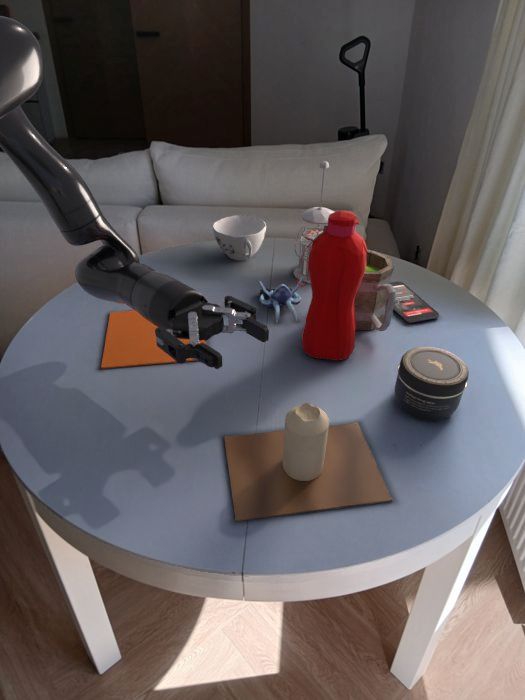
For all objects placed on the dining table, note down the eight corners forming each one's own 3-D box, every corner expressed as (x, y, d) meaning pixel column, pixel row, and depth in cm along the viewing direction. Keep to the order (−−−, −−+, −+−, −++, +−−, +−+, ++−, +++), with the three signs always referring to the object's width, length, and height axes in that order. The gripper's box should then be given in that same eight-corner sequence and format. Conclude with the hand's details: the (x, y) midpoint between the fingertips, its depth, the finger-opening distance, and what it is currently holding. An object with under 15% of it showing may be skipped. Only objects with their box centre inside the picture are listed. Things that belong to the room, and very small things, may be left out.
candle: (283, 482, 64) (287, 427, 58) (281, 450, 69) (284, 396, 63) (325, 481, 64) (333, 426, 58) (320, 449, 69) (327, 396, 63)
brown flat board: (235, 521, 60) (235, 520, 59) (224, 438, 71) (224, 436, 70) (392, 501, 62) (392, 499, 62) (357, 424, 73) (357, 422, 73)
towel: (101, 368, 83) (100, 367, 83) (110, 313, 98) (110, 312, 97) (207, 359, 86) (207, 358, 86) (201, 307, 100) (201, 305, 100)
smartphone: (408, 320, 96) (371, 285, 107) (408, 323, 96) (371, 288, 107) (440, 315, 97) (400, 280, 109) (440, 318, 98) (400, 283, 109)
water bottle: (296, 329, 94) (304, 200, 79) (354, 336, 92) (373, 206, 78) (289, 358, 86) (297, 221, 72) (352, 365, 85) (373, 227, 70)
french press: (344, 273, 113) (359, 161, 98) (312, 290, 106) (322, 173, 92) (312, 260, 119) (320, 152, 104) (279, 275, 112) (283, 162, 97)
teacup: (209, 247, 123) (207, 217, 119) (256, 242, 126) (257, 212, 122) (223, 274, 112) (222, 241, 107) (275, 268, 115) (276, 235, 110)
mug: (320, 307, 101) (325, 253, 94) (366, 298, 104) (374, 245, 97) (359, 349, 89) (368, 291, 82) (409, 338, 92) (422, 281, 85)
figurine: (271, 329, 96) (263, 294, 92) (256, 304, 106) (248, 271, 101) (316, 314, 97) (310, 279, 92) (297, 290, 107) (290, 258, 102)
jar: (404, 375, 83) (413, 338, 79) (464, 397, 79) (477, 359, 74) (382, 408, 76) (390, 369, 72) (446, 434, 72) (459, 395, 67)
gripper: (123, 298, 67) (201, 347, 58) (203, 266, 75) (282, 304, 66) (131, 343, 71) (204, 395, 62) (205, 308, 80) (280, 349, 71)
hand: (244, 348), depth 64 cm, fingers open, 8 cm apart
